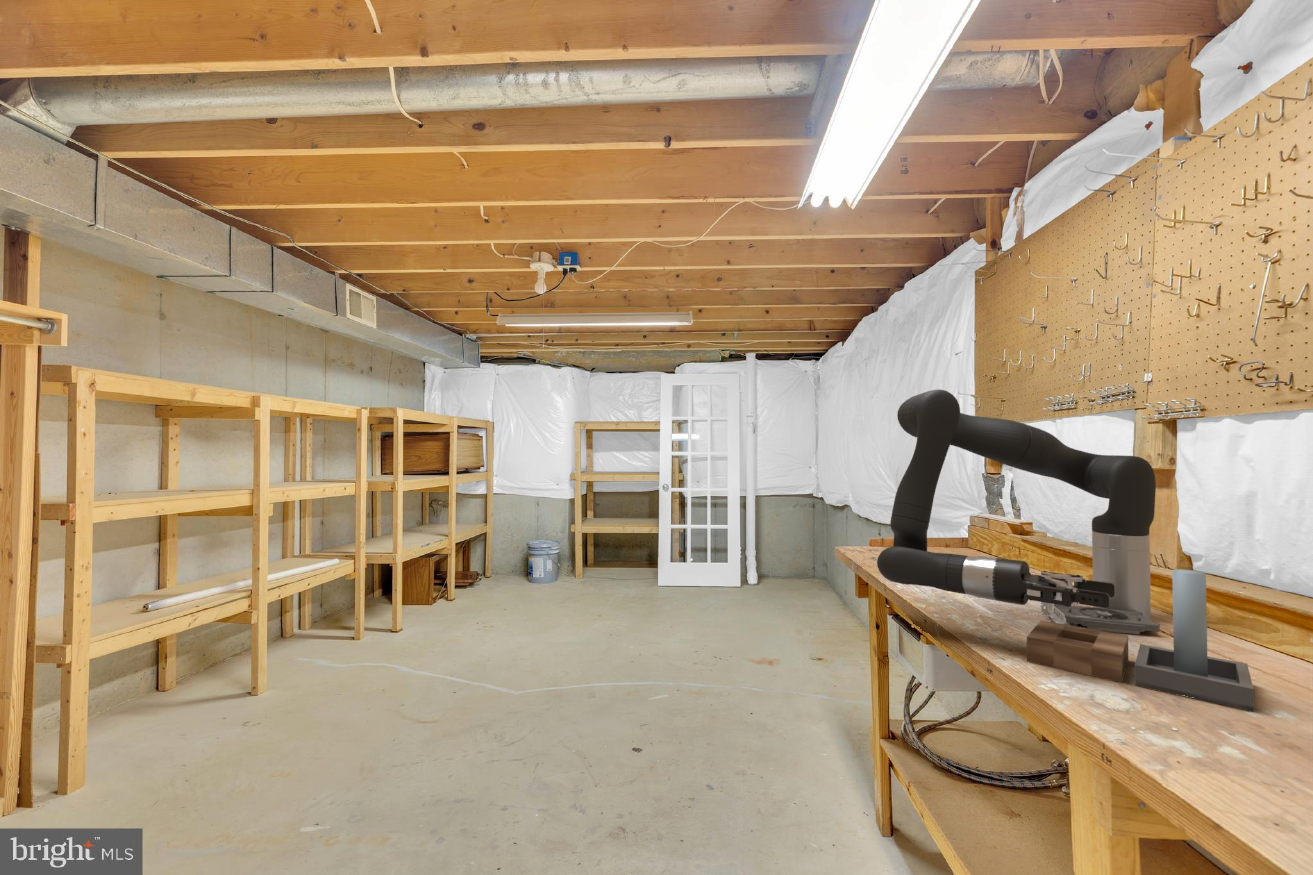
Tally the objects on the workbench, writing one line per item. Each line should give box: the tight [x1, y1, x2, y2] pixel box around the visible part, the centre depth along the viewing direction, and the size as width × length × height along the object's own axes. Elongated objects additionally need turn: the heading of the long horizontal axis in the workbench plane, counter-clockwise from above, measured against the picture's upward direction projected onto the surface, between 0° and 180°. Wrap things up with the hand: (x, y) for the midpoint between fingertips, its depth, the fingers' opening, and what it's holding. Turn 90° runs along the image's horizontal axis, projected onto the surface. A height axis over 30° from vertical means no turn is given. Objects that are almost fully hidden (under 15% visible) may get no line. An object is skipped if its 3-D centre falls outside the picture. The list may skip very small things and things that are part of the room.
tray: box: [1134, 643, 1255, 713], centre depth 83 cm, size 12×12×3 cm
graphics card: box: [1040, 602, 1161, 635], centre depth 109 cm, size 17×4×12 cm
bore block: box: [1026, 619, 1129, 683], centre depth 92 cm, size 12×12×4 cm
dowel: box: [1171, 568, 1208, 677], centre depth 83 cm, size 4×4×16 cm
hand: (1112, 595), depth 89 cm, fingers open, 8 cm apart
